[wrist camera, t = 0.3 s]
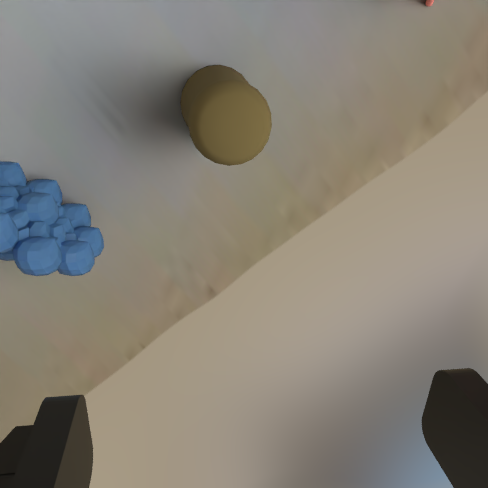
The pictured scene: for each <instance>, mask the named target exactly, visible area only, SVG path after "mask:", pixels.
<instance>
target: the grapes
mask: <svg viewBox="0 0 488 488" xmlns="http://www.w3.org/2000/svg"><path fill="white" fill-rule="evenodd" d="M61 204H62V192H61V190H60V187H59V185H58V183H57V181H55V180H49V179H35V180H32V181H28V182H27V183H26V177H25V175H24V172H23V170H22V168H21V167H20V165H19V163H15V162H0V260H6V261H10V260H14V261H15V263H16V265H17V267H18V268H19V269H20V270H21V271H22V272H23V273H24V274H28V275H34V276H42V275H49V274H51V273H53V272H55V271H57V270H58V272H59V273H60V274H64V275H69V276H78V275H83V274H85V273H87V272H89V271H90V270H91V268H92V267H93V265H94V258H95V257H97V256H99V255H100V254H101V252H102V250H103V248H104V240H103V237H102V234H101V232H100V230H99V228H94V227H90V226H91V216H90V213H89V211H88V208H87V206H86V205H83V204H75V203H73V204H63V205H61Z"/></svg>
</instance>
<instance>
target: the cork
mask: <svg viewBox="0 0 488 488" xmlns="http://www.w3.org/2000/svg"><path fill="white" fill-rule="evenodd" d="M180 103H181V110H182V115H183V118H184V120H185V122H186V124H187V126H188V127H189V131H190V136H191V138H192V140H193V143H194V145H195V147H196V148H197V149H198V150H199V151H200V152H201V153H202V155H203V156H204V157H206V158H208V159H210V160H211V161H213V162H215V163H218V164H223V165H229V166H230V165H238V164H243V163H245V162H247V161H249V160H251V159H253V158H254V157H255V156H256V155H258V154H259V153H260V152H261V151H262V149H263V148H264V146H265V145H266V143H267V141H268V139H269V135H270V131H271V127H272V123H271V112H270V109H269V106H268V104H267V101H266V99H265V98H264V97H263V96H262V94H261V93H260V92H259V91H258V90H257V89H256V88H254V87H253V86H251V85H249V83H248V82H247V81H246V79H245V78H244V77H243V76H242V74H240V73H239V72H237V71H236V70H234V69H232V68H230V67H226V66H222V65H213V66H207V67H204V68H202V69H200V70H198V71H196V72H195V73H194V74H193V75H192V76H191V77H190V78H189V79H188V81H187V82H186V84H185V86H184V88H183V90H182V96H181V102H180Z"/></svg>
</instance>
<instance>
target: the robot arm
mask: <svg viewBox="0 0 488 488" xmlns="http://www.w3.org/2000/svg"><path fill="white" fill-rule="evenodd" d="M422 430H423V434H424V438H425V440H426V443H427V445H428V446H429V448H430V450H431V451H432V453H433V455H434V456H435V458H436V460H437V461H438V462H439V464H440V466H441V468H442V469H443V471H444V472H445V474H446V476H447V477H448V479H449V481H450V482H451V484H452V485H453V487H454V488H488V384H487V383H486V382H485V381H484V379H483V378H482V377H481V376H480V375H479V374H478V373H477V372H476V371H474V370H473V369H470V368H465V369H451V370H439V371H437V372H436V373H435V375H434V377H433V380H432V384H431V388H430V391H429V395H428V398H427V402H426V405H425V409H424V412H423V416H422ZM92 464H93V445H92V438H91V432H90V427H89V421H88V413H87V407H86V401H85V397H84V396H83V395H73V396H59V397H46V398H45V399H44V400H43V402H42V404H41V406H40V409H39V412H38V414H37V417H36V420H35V422H34V425H29V426H17V427H15V428H14V429H13V430H12V431H11V432H10V433H9V434H8V435H7V437H6V438H5V439H4V440H3V441H2V442H1V443H0V488H89V484H90V480H91V474H92Z"/></svg>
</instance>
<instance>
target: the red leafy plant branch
mask: <svg viewBox="0 0 488 488" xmlns="http://www.w3.org/2000/svg"><path fill="white" fill-rule="evenodd" d="M433 2H434V0H426V6H431V5H432V4H433Z"/></svg>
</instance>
